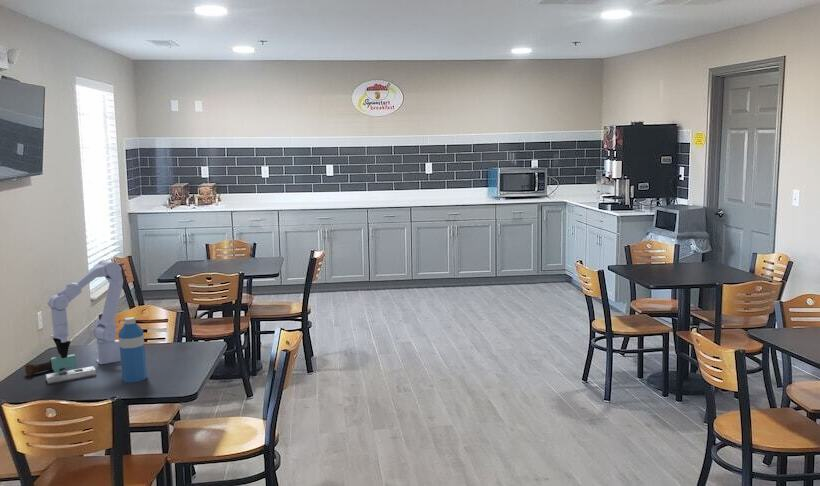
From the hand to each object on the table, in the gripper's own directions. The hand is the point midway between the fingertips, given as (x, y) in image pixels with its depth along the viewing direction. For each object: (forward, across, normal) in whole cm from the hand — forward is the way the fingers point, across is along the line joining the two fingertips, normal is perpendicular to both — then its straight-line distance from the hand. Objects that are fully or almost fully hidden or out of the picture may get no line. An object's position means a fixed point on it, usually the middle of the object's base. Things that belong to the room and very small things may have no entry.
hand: (62, 355), depth 321 cm
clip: (+7, 0, 0) cm, 7 cm away
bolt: (+8, -6, -6) cm, 11 cm away
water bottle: (+7, +29, +22) cm, 37 cm away
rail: (+7, +11, +1) cm, 13 cm away
